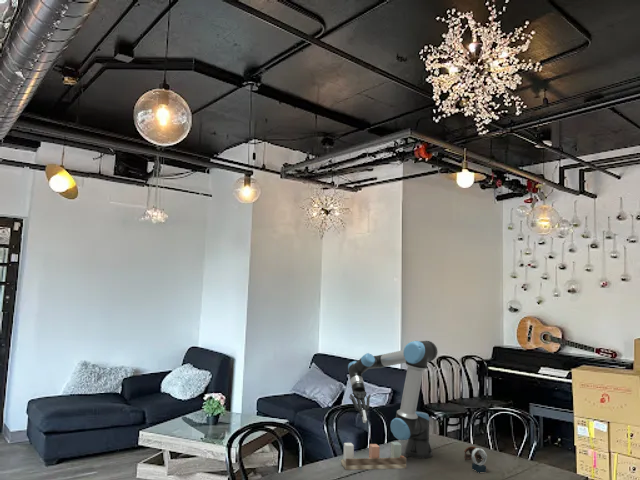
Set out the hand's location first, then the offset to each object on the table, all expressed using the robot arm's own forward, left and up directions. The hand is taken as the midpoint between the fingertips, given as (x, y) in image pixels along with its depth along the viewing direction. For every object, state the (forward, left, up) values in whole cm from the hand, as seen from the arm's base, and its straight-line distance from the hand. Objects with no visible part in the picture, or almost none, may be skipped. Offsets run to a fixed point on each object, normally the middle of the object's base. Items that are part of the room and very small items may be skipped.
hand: (365, 421), depth 264 cm
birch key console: (0, +17, -18) cm, 25 cm away
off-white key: (+13, +15, -16) cm, 26 cm away
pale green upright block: (-13, +15, -16) cm, 25 cm away
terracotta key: (0, +18, -16) cm, 24 cm away
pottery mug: (-59, +12, -18) cm, 63 cm away
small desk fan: (-53, +29, -18) cm, 63 cm away
